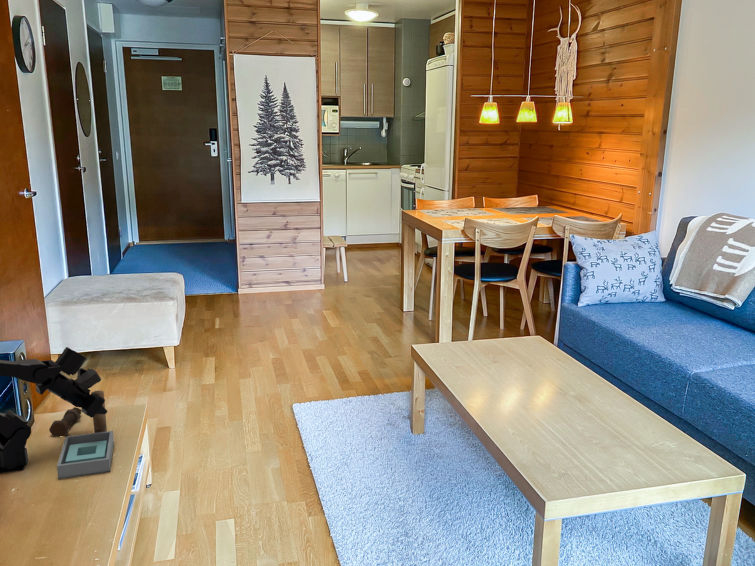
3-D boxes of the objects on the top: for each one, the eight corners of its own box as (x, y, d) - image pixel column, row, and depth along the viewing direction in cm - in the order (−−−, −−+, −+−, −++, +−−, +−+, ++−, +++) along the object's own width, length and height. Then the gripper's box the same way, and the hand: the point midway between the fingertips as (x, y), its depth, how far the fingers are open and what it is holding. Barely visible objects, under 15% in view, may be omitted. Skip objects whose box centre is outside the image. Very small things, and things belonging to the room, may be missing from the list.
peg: (93, 435, 190) (90, 395, 187) (94, 429, 193) (91, 391, 190) (106, 433, 191) (103, 394, 188) (107, 428, 194) (104, 389, 191)
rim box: (58, 479, 169) (56, 466, 168) (67, 448, 185) (65, 436, 184) (109, 472, 173) (108, 459, 172) (113, 442, 189) (112, 430, 188)
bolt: (80, 421, 207) (61, 441, 192) (66, 414, 206) (46, 434, 192) (88, 407, 206) (70, 426, 192) (74, 400, 205) (54, 418, 191)
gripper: (95, 372, 178) (134, 396, 189) (68, 356, 190) (106, 380, 201) (70, 405, 174) (111, 429, 185) (43, 387, 186) (83, 410, 197)
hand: (103, 410), depth 192 cm, fingers closed on peg, 4 cm apart
